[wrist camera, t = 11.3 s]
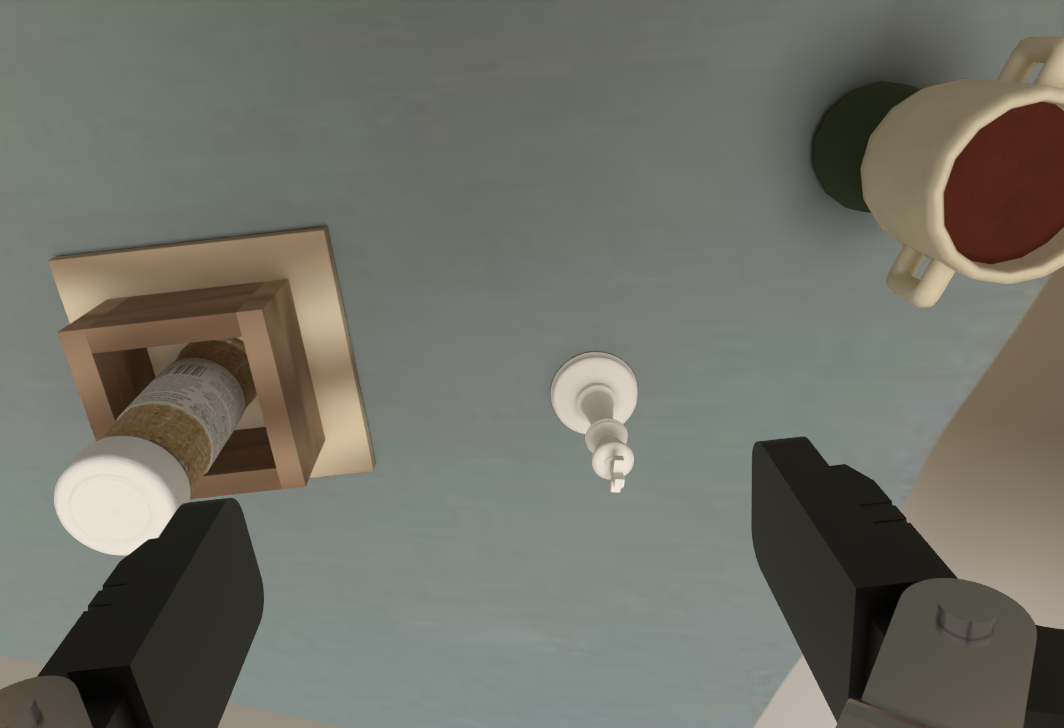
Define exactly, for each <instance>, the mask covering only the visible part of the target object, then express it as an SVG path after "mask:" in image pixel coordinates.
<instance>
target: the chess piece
mask: <svg viewBox="0 0 1064 728" xmlns="http://www.w3.org/2000/svg"><path fill="white" fill-rule="evenodd" d="M637 395H638V393H637V382H636V379H635V376H634V374H633V372H632V370H631V369H630V368H629V366H628V365H627V364H626V363H625V362H624V361H622V360H621V359H619V358H618V357H616V356H613V355H611V354H608V353H602V352H590V353H585V354H581V355H578V356H576V357H574V358H572V359H570V360H569V361H568V362H566V363H565V364H564V365H563V366H562V367H561V368H560V369H559V371H558V372H557V373H556V375H555V377H554V379H553V382H552V386H551V402H552V405H553V408H554V410H555V412H556V414H557V416H558V417H559V419H560V420H561V421H562V422H563V423H564V424H565V425H566V426H567V427H569V428H570V429H572V430H574V431H576V432H579V433H582V434H586V436H585V441H586V445H587V447H588V448H589V450H590V451H591V452H592V453H593V456H592V466H593V469H594V471H595V472H596V473H597V474H598V475H599V476H600V477H602V478H605V479H610V491H611V492H620V490H621V488H624V482H625V479H624V476H625V475H627V474H628V473H629V472H630V470H631V469H632V467H633V464H634V455H633V453H632V451H631V449H630V448H629V447H628V446H627V445H626V442H627V438H628V434H627V430H626V428H625V427H624V425H623V424H624V423H625V422H626V421H627V420H628V418H629V417H630V416H631V414H632V413H633V411H634V409H635V406H636V403H637Z"/></svg>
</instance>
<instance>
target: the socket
mask: <svg viewBox="0 0 1064 728" xmlns="http://www.w3.org/2000/svg"><path fill="white" fill-rule="evenodd" d="M48 262H49V265H50V268H51V271H52V274H53V276H54V279H55V282H56V285H57V288H58V291H59V294H60V296H61V299H62V302H63V305H64V308H65V311H66V314H67V317H68V319H69V322H70V324H69V325H68V326H66V327H65V328H63V329H62V330H60V331H59V332H58V335H59V338H60V341H61V344H62V346H63V349H64V352H65V355H66V358H67V360H68V363H69V366H70V369H71V372H72V374H73V377H74V380H75V383H76V386H77V388H78V391H79V394H80V397H81V400H82V403H83V405H84V408H85V411H86V414H87V417H88V419H89V422H90V425H91V428H92V431H93V433H94V436H95V439H96V441H98V440H99V439H100V438H102V436H103V435H104V434H105V433H106V432H107V431H108V430H109V429H110V428H111V427H112V426H113V425H114V423H115V421H116V420H117V418H118V417H119V416H120V414H121V413H122V412H123V411H124V410H125V409H126V408H127V407H128V406H129V405H130V404H131V403H132V402H133V401H134V400H135V399H136V398H137V397H138V395H139V394H140V393H141V392H142V391H143V390H144V389H145V388H146V387H147V386H148V385H149V384H150V383H151V382H152V381H153V380H154V379H155V378H156V377H157V376H158V375H159V374H160V373H161V372H162V371H163V370H164V369H165V368H166V367H167V366H169V365H170V364H172V363H173V362H174V361H175V360H176V359H177V357H178V355H179V353H180V351H181V350H182V349H183V348H184V347H186V346H187V344H188V343H192V342H201V341H210V340H219V339H228V338H233V339H235V340H236V341H239V342H241V343H242V344H243V345H244V346H245V350H246V353H247V357H248V361H249V365H250V369H251V373H252V376H253V380H254V384H255V388H256V392H257V396H256V398H255V399H254V400H253V401H252V402H251V403H250V404H249V405H248V406H247V408H246V409H245V411H244V413H243V415H242V418H241V420H240V421H239V423H238V425H237V426H236V428H235V429H234V431H233V433H232V434H231V436H230V437H229V439H228V440H227V442H226V443H225V445H224V447H223V448H222V450H221V451H220V453H219V454H218V456H217V458H216V459H215V461H214V462H213V464H212V466H211V467H210V469H209V470H208V472H207V473H206V474H204V475H203V477H202V478H201V480H200V481H199V483H198V484H197V486H196V487H195V488H194V490H193V492H192V494H191V497H190V499H196V498H205V497H214V496H223V495H232V494H241V493H250V492H259V491H268V490H277V489H286V488H295V487H304V486H306V484H307V482H308V479H309V478H312V477H321V476H330V475H339V474H348V473H357V472H366V471H374V468H375V464H376V463H375V459H374V454H373V449H372V444H371V439H370V434H369V429H368V424H367V419H366V415H365V410H364V405H363V400H362V395H361V390H360V385H359V380H358V376H357V371H356V366H355V361H354V356H353V351H352V346H351V341H350V337H349V332H348V327H347V322H346V317H345V312H344V307H343V302H342V297H341V293H340V288H339V283H338V278H337V273H336V268H335V263H334V258H333V254H332V249H331V244H330V239H329V234H328V229H327V227H320V228H311V229H302V230H293V231H284V232H275V233H266V234H257V235H248V236H239V237H230V238H221V239H212V240H203V241H194V242H185V243H176V244H167V245H158V246H149V247H140V248H131V249H122V250H113V251H104V252H95V253H86V254H77V255H68V256H59V257H55V258H53V259H51V260H49V261H48Z"/></svg>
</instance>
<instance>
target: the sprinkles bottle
mask: <svg viewBox="0 0 1064 728" xmlns="http://www.w3.org/2000/svg"><path fill="white" fill-rule="evenodd" d="M256 396H257V392H256V388H255V384H254V380H253V376H252V373H251V369H250V365H249V361H248V357H247V353H246V350H245V346H244V345H243V344H242V343H241V342H239V341H236V340H235V339H233V338H228V339H219V340H210V341H201V342H192V343H188V344H187V346H186V347H184V348H183V349H182V350H181V351H180V353H179V355H178V357H177V359H176V360H175V361H174V362H173V363H172V364H170V365H169V366H167V367H166V368H165V369H164V370H163V371H162V372H161V373H160V374H159V375H158V376H157V377H156V378H155V379H154V380H153V381H152V382H151V383H150V384H149V385H148V386H147V387H146V388H145V389H144V390H143V391H142V392H141V393H140V394H139V395H138V397H137V398H136V399H135V400H134V401H133V402H132V403H131V404H130V405H129V406H128V407H127V408H126V409H125V410H124V411H123V412H122V413H121V414H120V416H119V417H118V418H117V420H116V421H115V423H114V425H113V426H112V427H111V428H110V429H109V430H108V431H107V432H106V433H105V434H104V435H103V436H102V438H100V439H99V440H98V441H96V442H94V443H92V444H90V445H89V446H88V447H86V448H85V449H84V450H83V451H82V452H81V453H80V454H79V455H78V456H77V457H76V458H75V459H74V460H73V461H72V462H71V463H70V465H69V466H68V467H67V468H66V469H65V471H64V472H63V473H62V475H61V476H60V478H59V479H58V481H57V484H56V487H55V491H54V504H55V509H56V513H57V515H58V517H59V519H60V521H61V523H62V525H63V526H64V527H65V529H66V530H67V531H68V532H69V533H70V534H71V535H72V536H73V537H74V538H76V539H77V540H78V541H80V542H81V543H83V544H84V545H86V546H88V547H90V548H92V549H94V550H97V551H100V552H103V553H107V554H112V555H129V554H130V553H132V552H133V551H134V550H135V549H137V548H138V547H139V546H141V545H142V544H143V543H144V542H146V541H147V540H148V539H154V538H158V537H159V535H160V534H161V533H162V531H163V530H164V528H165V527H166V525H167V524H168V522H169V521H170V519H171V518H172V516H173V515H174V513H175V512H176V510H177V509H178V508H179V506H180V505H182V504H183V503H189V501H190V497H191V494H192V492H193V490H194V488H195V487H196V486H197V484H198V483H199V481H200V480H201V478H202V477H203V475H204V474H206V473H207V472H208V470H209V469H210V467H211V466H212V464H213V462H214V461H215V459H216V458H217V456H218V454H219V453H220V451H221V450H222V448H223V447H224V445H225V443H226V442H227V440H228V439H229V437H230V436H231V434H232V433H233V431H234V429H235V428H236V426H237V425H238V423H239V421H240V420H241V418H242V415H243V413H244V411H245V409H246V408H247V406H248V405H249V404H250V403H251V402H252V401H253V400H254V399H255V398H256Z"/></svg>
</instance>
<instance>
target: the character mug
mask: <svg viewBox="0 0 1064 728" xmlns="http://www.w3.org/2000/svg"><path fill="white" fill-rule="evenodd" d="M1036 63H1045V65H1044V66H1043V68H1042V70H1041V71H1040V73H1039V75H1038V77H1037V78H1036V80H1035V82H1034V84H1028V83H1025V81H1026V80H1027V78H1028V76H1029V74H1030V73H1031V71H1032V69H1033V67H1034V66H1035V65H1036ZM1063 88H1064V37H1029V38H1026V39H1024V40H1021V41H1020V42H1019V44H1018V45H1017V46H1016V48H1015V49H1014V50H1013V52H1012V53H1011V55H1010V57H1009V59H1008V61H1007V62H1006V64H1005V66H1004V68H1003V69H1002V71H1001V73H1000V75H999V77H998V78H997V80H996V81H989V80H976V79H959V80H955V81H951V82H947V83H942V84H938V85H934V86H930V87H926V88H923V89H918V88H915V87H912V86H909V85H902V84H896V83H889V82H883V81H882V82H879V83H876V84H873V85H870V86H866V87H863V88H860V89H857V90H854V91H852V92H851V93H850V94H848V95H847V96H846V97H845V98H844V99H842V100H841V101H840V102H839V103H838V104H837V105H835V106H834V107H833V108H832V109H831V110H829V111H828V113H827V115H826V117H825V119H824V121H823V123H822V125H821V127H820V129H819V132H818V134H817V136H816V138H815V154H814V169H815V171H816V173H817V175H818V177H819V179H820V181H821V184H822V186H823V188H824V190H825V192H826V193H827V194H828V195H830V196H831V197H832V198H834V199H835V200H836V201H838V202H839V203H840V204H842V205H843V206H844V207H846V208H849V209H854V210H858V211H863V212H870V213H872V215H873V216H874V218H875V220H876V221H877V223H878V225H879V227H880V228H881V230H883V231H884V232H886V233H887V234H888V235H890V236H891V237H893V238H894V239H896V240H897V241H898V242H900V243H901V244H903V245H904V246H903V248H902V250H901V252H900V253H899V255H898V257H897V259H896V261H895V262H894V264H893V266H892V268H891V270H890V271H889V274H888V277H887V280H886V282H887V284H888V286H889V288H890V289H891V290H892V291H893V292H894V293H895V294H897V295H899V296H900V297H902V298H903V299H905V300H907V301H908V302H910V303H911V304H913V305H915V306H916V307H931V306H933V305H934V304H935V303H936V302H937V300H938V299H939V298H940V296H941V295H942V293H943V291H944V290H945V288H946V286H947V285H948V283H949V281H950V280H951V278H952V276H953V275H954V273H955V271H956V272H958V273H960V274H962V275H964V276H966V277H969V278H972V279H975V280H982V281H989V282H997V283H1004V284H1012V283H1017V282H1021V281H1026V280H1031V279H1035V278H1040V277H1045V276H1046V275H1048V274H1050V273H1052V272H1054V271H1056V270H1057V269H1059V268H1061V267H1063V266H1064V89H1063ZM925 256H926V257H928V258H930V259H932V261H931V262H930V264H929V266H928V267H927V269H926V271H925V273H924V274H923V276H922V278H921V280H919V279H917V278H915V277H914V276H915V273H916V272H917V270H918V268H919V267H920V265H921V263H922V261H923V260H924V258H925Z"/></svg>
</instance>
